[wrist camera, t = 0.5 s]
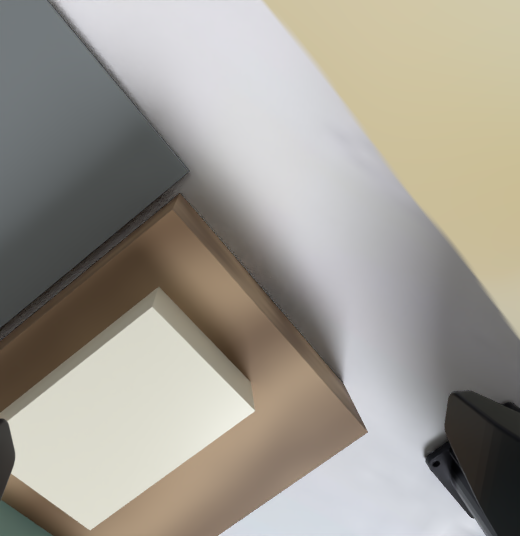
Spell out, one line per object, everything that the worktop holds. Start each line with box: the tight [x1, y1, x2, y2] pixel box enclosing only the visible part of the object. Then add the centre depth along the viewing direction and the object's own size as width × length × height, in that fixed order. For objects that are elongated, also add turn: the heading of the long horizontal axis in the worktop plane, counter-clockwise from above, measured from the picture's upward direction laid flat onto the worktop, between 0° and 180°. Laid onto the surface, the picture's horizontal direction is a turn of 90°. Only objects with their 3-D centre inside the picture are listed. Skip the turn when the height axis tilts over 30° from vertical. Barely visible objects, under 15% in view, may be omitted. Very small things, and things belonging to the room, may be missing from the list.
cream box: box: [0, 287, 255, 530], centre depth 18 cm, size 6×9×2 cm, turn 128°
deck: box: [0, 193, 368, 536], centre depth 22 cm, size 14×22×4 cm, turn 128°
